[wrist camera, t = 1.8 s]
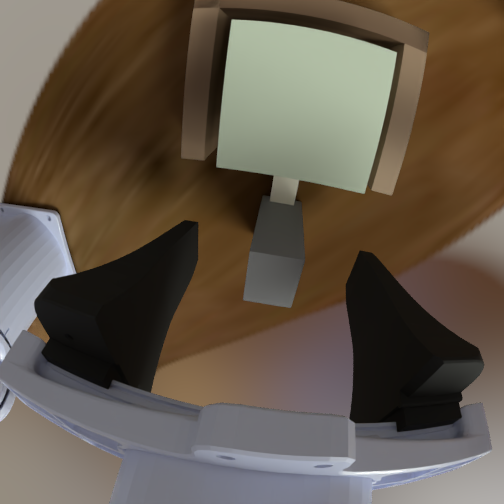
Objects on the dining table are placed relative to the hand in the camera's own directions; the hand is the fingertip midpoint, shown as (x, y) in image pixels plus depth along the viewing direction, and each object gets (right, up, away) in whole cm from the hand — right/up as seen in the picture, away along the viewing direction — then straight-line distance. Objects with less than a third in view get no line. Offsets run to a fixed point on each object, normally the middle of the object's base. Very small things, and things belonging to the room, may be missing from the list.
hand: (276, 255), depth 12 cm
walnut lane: (+1, +7, -1) cm, 7 cm away
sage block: (+1, +5, 0) cm, 5 cm away
